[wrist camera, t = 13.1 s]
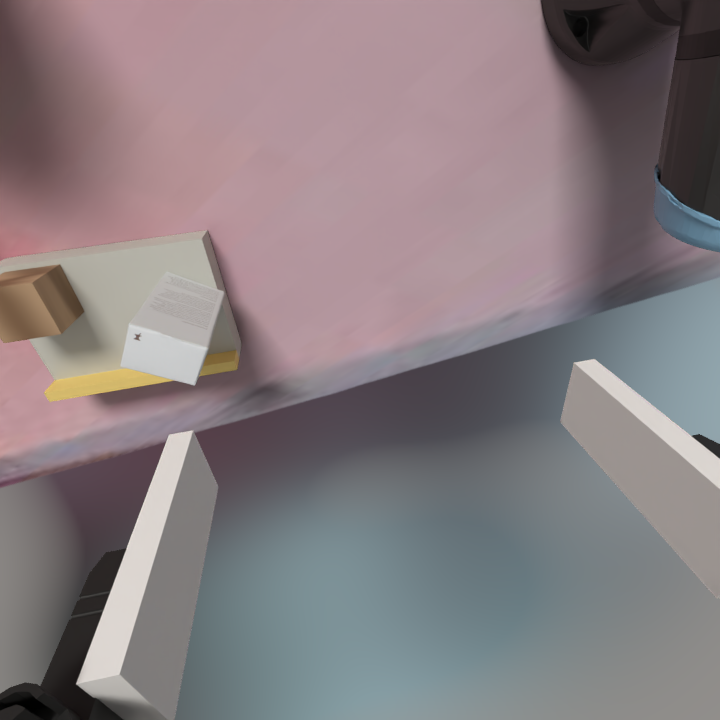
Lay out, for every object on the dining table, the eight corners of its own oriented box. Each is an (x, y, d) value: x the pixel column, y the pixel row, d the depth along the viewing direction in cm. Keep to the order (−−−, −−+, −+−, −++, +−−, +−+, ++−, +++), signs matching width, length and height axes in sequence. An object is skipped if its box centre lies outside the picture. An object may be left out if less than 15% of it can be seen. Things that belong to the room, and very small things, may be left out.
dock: (207, 230, 41) (197, 245, 36) (241, 344, 49) (237, 369, 44) (6, 258, 40) (-33, 278, 35) (74, 371, 47) (49, 401, 42)
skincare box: (157, 306, 41) (116, 367, 31) (166, 269, 39) (126, 322, 29) (215, 325, 43) (195, 388, 33) (227, 291, 42) (209, 347, 32)
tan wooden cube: (59, 264, 38) (31, 282, 33) (84, 311, 40) (61, 334, 36) (4, 272, 37) (-31, 291, 33) (33, 319, 40) (3, 343, 36)
